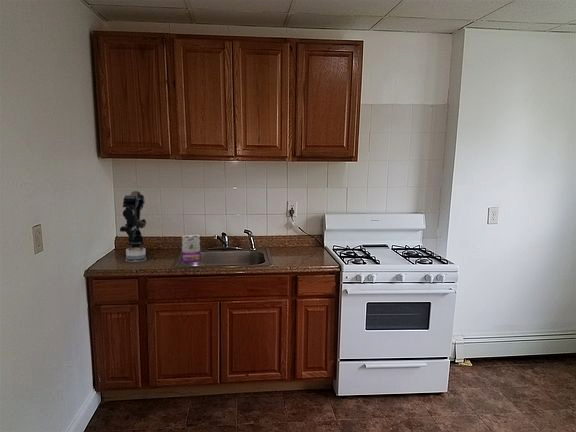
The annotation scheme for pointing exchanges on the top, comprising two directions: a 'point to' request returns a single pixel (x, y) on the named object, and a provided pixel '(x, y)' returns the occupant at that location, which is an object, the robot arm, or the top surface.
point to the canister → (135, 255)
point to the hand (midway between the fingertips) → (132, 240)
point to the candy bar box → (191, 248)
